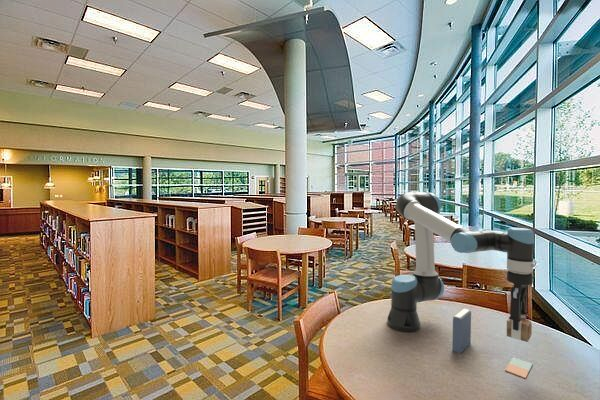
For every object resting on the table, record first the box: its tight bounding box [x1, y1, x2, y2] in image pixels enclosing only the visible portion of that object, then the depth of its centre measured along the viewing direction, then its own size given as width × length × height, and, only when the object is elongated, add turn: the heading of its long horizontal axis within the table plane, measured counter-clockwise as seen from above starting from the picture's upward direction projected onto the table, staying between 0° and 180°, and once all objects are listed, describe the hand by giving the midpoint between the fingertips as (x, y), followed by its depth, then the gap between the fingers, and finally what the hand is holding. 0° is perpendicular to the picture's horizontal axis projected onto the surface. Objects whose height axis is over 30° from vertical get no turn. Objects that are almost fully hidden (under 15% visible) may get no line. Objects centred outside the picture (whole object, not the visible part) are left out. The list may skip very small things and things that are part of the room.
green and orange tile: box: [504, 362, 530, 380], centre depth 106 cm, size 6×6×1 cm
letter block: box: [506, 318, 533, 343], centre depth 105 cm, size 6×6×6 cm
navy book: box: [451, 308, 472, 355], centre depth 122 cm, size 3×12×14 cm, turn 133°
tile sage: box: [509, 357, 533, 372], centre depth 110 cm, size 6×6×1 cm
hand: (518, 334), depth 105 cm, fingers closed on letter block, 6 cm apart
